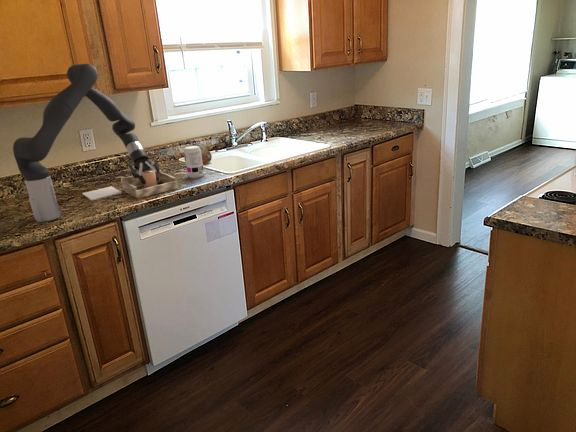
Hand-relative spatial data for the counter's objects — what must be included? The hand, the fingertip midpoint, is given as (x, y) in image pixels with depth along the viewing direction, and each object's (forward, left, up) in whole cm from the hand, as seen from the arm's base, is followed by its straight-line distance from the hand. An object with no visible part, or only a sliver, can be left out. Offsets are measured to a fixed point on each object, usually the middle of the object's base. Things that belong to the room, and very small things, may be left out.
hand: (151, 181), depth 212 cm
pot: (0, +2, -4) cm, 5 cm away
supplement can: (+26, +6, -5) cm, 27 cm away
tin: (+39, +27, -5) cm, 47 cm away
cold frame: (0, +3, -4) cm, 5 cm away
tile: (-19, +15, -4) cm, 24 cm away
